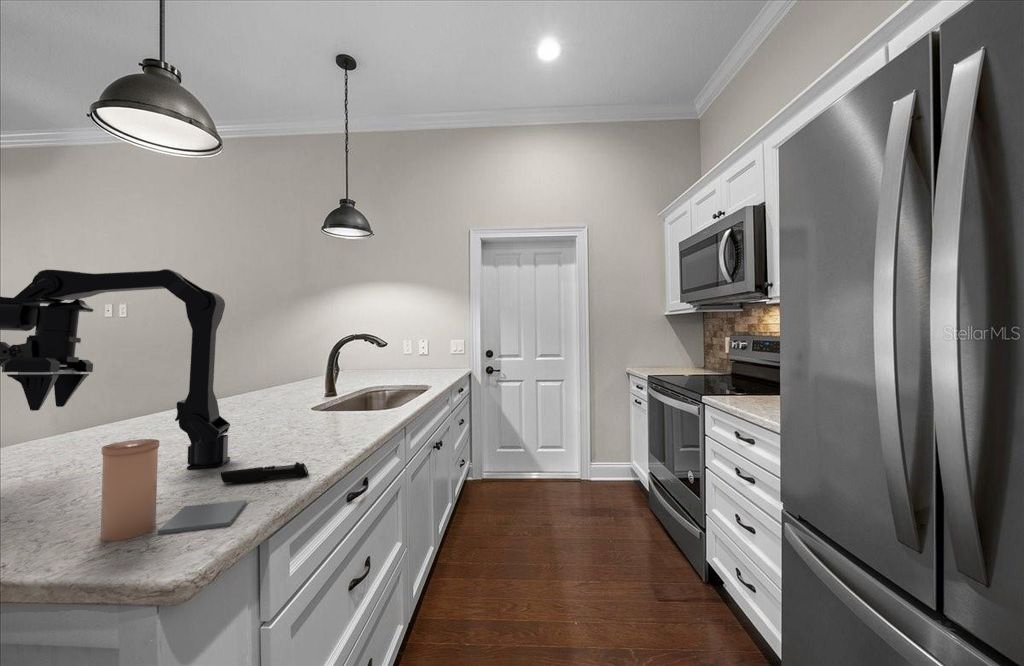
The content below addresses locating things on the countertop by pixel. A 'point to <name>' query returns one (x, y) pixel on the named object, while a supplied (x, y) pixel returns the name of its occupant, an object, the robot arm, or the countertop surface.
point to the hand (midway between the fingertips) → (48, 408)
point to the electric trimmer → (264, 473)
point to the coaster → (203, 517)
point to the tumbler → (129, 489)
